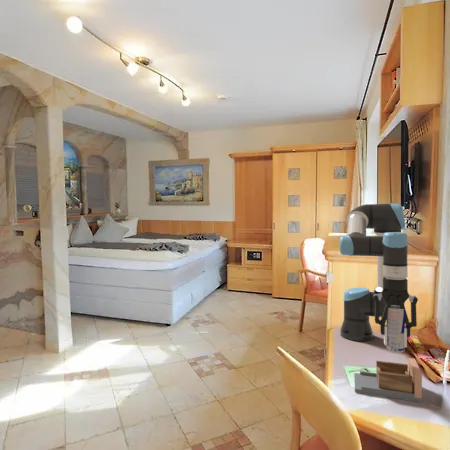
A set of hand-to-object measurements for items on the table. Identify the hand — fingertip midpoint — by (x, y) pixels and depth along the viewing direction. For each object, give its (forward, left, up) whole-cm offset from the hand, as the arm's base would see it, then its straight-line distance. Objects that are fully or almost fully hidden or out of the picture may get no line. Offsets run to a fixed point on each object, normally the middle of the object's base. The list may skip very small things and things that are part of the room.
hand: (395, 344), depth 116 cm
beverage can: (0, 0, -2) cm, 2 cm away
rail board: (0, -3, -16) cm, 16 cm away
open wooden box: (0, 0, -14) cm, 14 cm away
